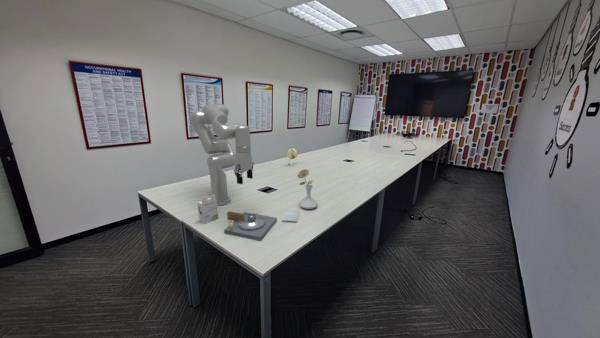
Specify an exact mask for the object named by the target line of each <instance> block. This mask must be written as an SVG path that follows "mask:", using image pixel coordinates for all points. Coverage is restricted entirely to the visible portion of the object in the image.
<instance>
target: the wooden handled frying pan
mask: <svg viewBox="0 0 600 338" xmlns="http://www.w3.org/2000/svg"><path fill="white" fill-rule="evenodd" d="M261 215H262V214H258V215H257V213H252V214H249V215H246V216H244V214H243V213H240V212H234V211H228V212H226V216H227V220H228V221H231V222H234V221H238V226H239V228H241V229H243V230H256V229H259V228H261V227H263V226H264V225H265V218H264V217H263V216H261Z"/></svg>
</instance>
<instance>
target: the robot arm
mask: <svg viewBox="0 0 600 338" xmlns="http://www.w3.org/2000/svg"><path fill="white" fill-rule="evenodd" d="M229 112H230V111H229V108H228V106H227V105H225V104H222V103H207V104H206V105H204V106H203V107H202V110H198V111H193V112H192V113H191V114H190V124H191V126H192V128H193V130H194V132H195V133H196V134H197V136H198V138H199V140H200V143H201V145H202V147H203V150H204V152H205V153H206V154H208V155H209V156H208V157H207V159H206V162H207V167H208V170H209V176H210V189H211V190H210V191H211V193H208V195H207V197H208V196H211V195H214V194H215V196H216V202H217V207H218V206H219V207H220V206H225V205H227V204H230V202H231V201H232V200H231V198H230V197H229V195H228V194H229V193H228V180H227V174H226V173H225V172H224V170H223V169H226V168H231V167H234V169H233V173H234V175H235V177H236V184H238V185H243V184H244V182H243V177H244V176H243V174H244V173H245V172H246V178H247V179H250V180H252V179H254V178H253V171H254V170H253V169H254V164H255V163H254V161H253V160H252V159H253V157H252V151H251V150H252V149H251V148H252V146H251V129H250V127H249V126H248V125H244V124H241V123H229V124H228V116H229ZM206 125H211V128H209V127H207V126H206ZM211 129H212V130H211ZM214 134H215V135H216V136H217V137H215V135H214ZM232 139H234V140H235V153H234V150H233V148H232V146H231V143H230V141H229V140H232Z"/></svg>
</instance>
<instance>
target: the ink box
mask: <svg viewBox="0 0 600 338" xmlns="http://www.w3.org/2000/svg"><path fill="white" fill-rule="evenodd" d="M197 209H198V217H199V222H200V223H202V224H207V223H210V222H212V221H215V220H217V219H218V218H219V216H218V215H219V213H218V206H217V202H216V196H215V194H214V195H211V196H208V195H207V196H205V197H202V198H201V200H199V201H197Z"/></svg>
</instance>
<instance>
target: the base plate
mask: <svg viewBox="0 0 600 338" xmlns="http://www.w3.org/2000/svg"><path fill="white" fill-rule="evenodd" d="M242 214H244V216H246V215H249V214H253V212H252V213H251V212H243V213H242ZM256 214H257V213H256ZM257 215H259V214H257ZM260 215H261V216H263V217H264V218H265V225H264V226H263V227H261V228H259V229H256V230H243V229H241V228H239V226H238V221H231V222H229V225H228V226H227V227H225V228H224V229H223V234H225V235H230V236H235V237H239V238H245V239H251V240H254V241H259V242H261V241H262V240H263V239H264V237H266V235H267V234H268V233H269V232H270V231H271V229H273V227H274V225H276V223H277V222H278V218H277V217H275V216H268V215H262V214H260Z"/></svg>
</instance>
